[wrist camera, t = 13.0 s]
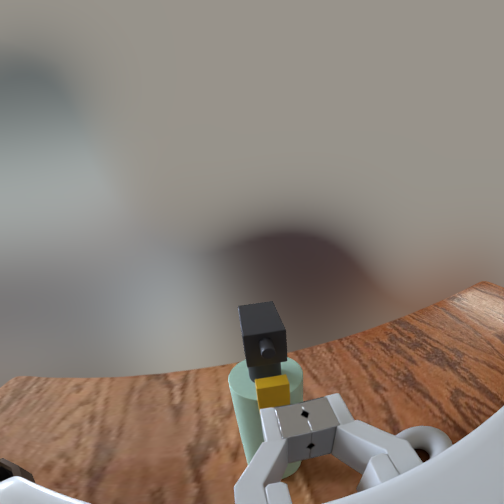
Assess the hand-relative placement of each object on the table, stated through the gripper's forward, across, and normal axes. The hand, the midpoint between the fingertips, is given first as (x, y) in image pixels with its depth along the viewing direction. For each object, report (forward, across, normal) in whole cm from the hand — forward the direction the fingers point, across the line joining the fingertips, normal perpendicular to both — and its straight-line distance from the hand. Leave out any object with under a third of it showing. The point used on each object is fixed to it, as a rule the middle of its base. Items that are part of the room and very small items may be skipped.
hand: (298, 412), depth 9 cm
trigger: (+8, 0, +8) cm, 12 cm away
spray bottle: (+13, 0, +25) cm, 28 cm away
